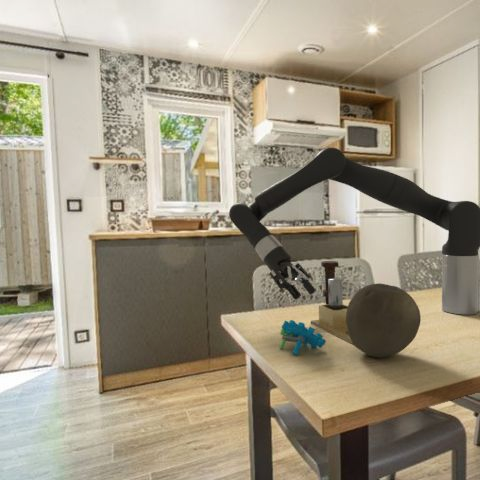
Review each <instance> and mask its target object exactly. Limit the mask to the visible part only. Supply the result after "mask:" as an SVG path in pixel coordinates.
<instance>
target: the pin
mask: <svg viewBox="0 0 480 480" xmlns="http://www.w3.org/2000/svg"><path fill="white" fill-rule="evenodd" d="M328 290H329V309H332V310H340V309H343V304H344V303H343V300H344V299H343V280H342V278H339V277H335V278H330V279H328Z"/></svg>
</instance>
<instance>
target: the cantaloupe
mask: <svg viewBox="0 0 480 480" xmlns="http://www.w3.org/2000/svg"><path fill="white" fill-rule="evenodd" d="M347 306H348V307H347V312H346V325H347V329H348V333H349V336H350V339H351V341H352V343H353V344H352V345H354V347H356V348H357V350H360V351H361V352H363V353H364V354H365V355H367V356H370V357H372V358H377V359H379V358H380V359H381V358H387V357H391V356H392V357H393V356H395V355H397V354H399V353H400V352H402V351H404V350H405V349H406V348H407V347H408V346H409V345H410V344H411V343H412V342H413V341H414V340H415V338H416V336H417V334H418V331H419V329H420V325H421V311H420V309H419V306H418V305H417V303H416V301H415V300H414V298H413V297H412V296H411V294H409V293H408V292H407V291H405V290H404V289H402V288H401V287H398V286H395V285H390V284H385V283H379V282H378V283H371V284H369V285H366V286H363V287H362V288H359V290H358V291H357V292H355V294H354V295H353V296H352V298H350V301H349V302H348V304H347Z"/></svg>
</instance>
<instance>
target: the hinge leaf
mask: <svg viewBox="0 0 480 480" xmlns="http://www.w3.org/2000/svg"><path fill="white" fill-rule="evenodd" d="M347 307H348V304H347V305H346V304H344V303H343V309H340V310H332V309H329V304H326V303H325V304H319V305H318V319H315V320H310V324H311V325H313V326H315V327H317V328H319V329H322V330H323V331H325V332H327V333H330V334H331V335H333V336H335V337H337V338H340V339H342V340H343V341H345V342H348V343H349V344H351V345H354V344H353V343H352V341H351V339H350V336H349V333H348V329H347V325H346V312H347Z"/></svg>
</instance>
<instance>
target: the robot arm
mask: <svg viewBox="0 0 480 480" xmlns="http://www.w3.org/2000/svg"><path fill="white" fill-rule="evenodd" d="M328 180H330V181H334V182H338V183H340V184H344V185H346V186H349V187H351V188H354V189H355V190H357V191H358V192H360V193H362V194H365V196H368V197H369V198H371V199H374V200H376V201H378V202H380V203H382V204H384V205H385V204H386V205H388V206H389V207H393V208H395V209H398V210H401V211H402V212H403V211H404V212H406V213H410V214H413V215H415V216H419V217H421V218H423V219H425V220H427V221H429V222H430V223H432V224H434V225H437V226H438V227H440V228H442V229H444V230H446V231H448V235H447V241H446V243H444V244H443V245H442V248H441V253H442V254H441V310H442V311H443V312H446V313H449V314H450V313H451V314H455V315H464V316H465V315H476V314H478V313H479V312H480V280H479V250H480V206H479V205H478V204H477V203H476V202H473V201H470V200H459V201H451V200H448V199H447V200H446V199H443V198H440V197H437V196H435V195H433V194H430V193H428V192H427V191H426V190H424V189H423V188H422V187H420V186H419V185H418V184H417V183H415V182H413V181H412V180H410V179H408V178H406V177H405V176H401V175H399V174H397V173H393V172H391V171H387V170H384V169H380V168H377V167H372V166H369V165H367V166H366V165H363V164H360V163H358V162H356V161H354V160H352V159H350V158H348V157H346V156H345V153H344V152H343V151H342V150H341V149H339V148H336V147H325V148H324V149H321V150H320V151H319V152H318V153H316V155H315V156H314V157H313V159H312V160H310V161H309V162H308V163H307V164H305V165H304V166H303V167H301V168H300V169H298V170H297V171H295V172H294V173H292V174H290V175H288V176H286V177H285V178H283V179H281V180H279V181H277V182H275V183H274V184H272V185H270V186H269V187H267V188H266V189H264V190H262V191H260V192H259V193H258V194H256V195H255V197H254V202H253V203H252V204H250V205H247V204H245V203H243V202H237V203H235V204H233V205H232V206H230V209H229V212H228V215H229V220H230V221H231V222H232V224H233V225H234V226H235V227H236V229H238V231H240V233H241V234H243V235H244V237H245V238H246V239H247V241H248V242H249V244H250V245H251V246H252V247H253V249H254V250H255V251H256V253H257V255H258V256H259V258H260V259H261V260H262V262H263V263H264V264H265V266H266V267H267V268H268V269H269V270H270V272H269V275H270V277H271V278H272V279H273V281H274V283H275V284H276V285H277V287H278V288H279V289H280V290H285V291H287V292H288V293H289V295H290V296H291V297H292V298H293V299H294V300H299V299H300V297H301V296H302V293H301V292H300V291H299V290H298V289H297V287H296V286H295V285H294V284H293V282H295V283H299V284H300V285H302V287H304V289H305V290H306V291H307V293H308V294H309V295H310V296H311V295H313V294H314V293H315V292H317V291H316V288H315V287H314V286H313V284H312V283H311V281H310V279H311V276H310V274H309V273H308V272H307V270H305V269H304V268H303V266H302V265H301V264H300V263H299V262H297V263H296V264H294V263H292V262H291V261H292V255H291V254H290V253H289V252H288V251H287V250H286V249H285V247H284V246H283V245H282V243H281V242H280V241H279V239H277V238H276V237H275V236H274V235H273V234H272V232H270V230H269V229H268V228H267V227H266V226H265V225H264V224H263V223H262V222H261V221H262V220H263V219H264V218H265V217H266V216H268V214H269V213H271V212H273V211H275V210H277V209H278V208H280V207H281V206H284V204H287V203H288V202H290V201H291V200H293V198H295V197H296V196H298V195H300V194H302V192H304V191H306V190H308V189H309V188H311V187H313V186H315V185H318V184H320V183H322V182H324V181H328Z"/></svg>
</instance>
